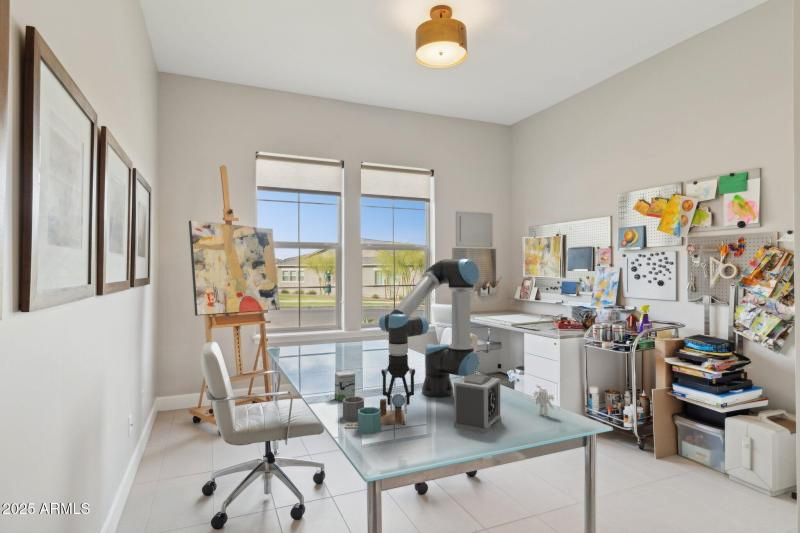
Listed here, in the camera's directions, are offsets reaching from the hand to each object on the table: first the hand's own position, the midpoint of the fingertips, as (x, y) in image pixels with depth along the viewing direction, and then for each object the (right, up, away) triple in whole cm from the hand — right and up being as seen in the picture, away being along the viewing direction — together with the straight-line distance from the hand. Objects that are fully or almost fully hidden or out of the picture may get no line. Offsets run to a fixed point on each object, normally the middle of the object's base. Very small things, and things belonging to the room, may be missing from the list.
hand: (398, 412), depth 167 cm
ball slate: (0, +5, 0) cm, 5 cm away
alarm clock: (+31, -4, -1) cm, 31 cm away
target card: (-17, -3, -5) cm, 18 cm away
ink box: (-25, -4, +30) cm, 39 cm away
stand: (-3, -3, +4) cm, 6 cm away
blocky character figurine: (+60, -4, +8) cm, 60 cm away
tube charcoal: (-18, -3, +5) cm, 19 cm away
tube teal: (-11, -3, -8) cm, 14 cm away
